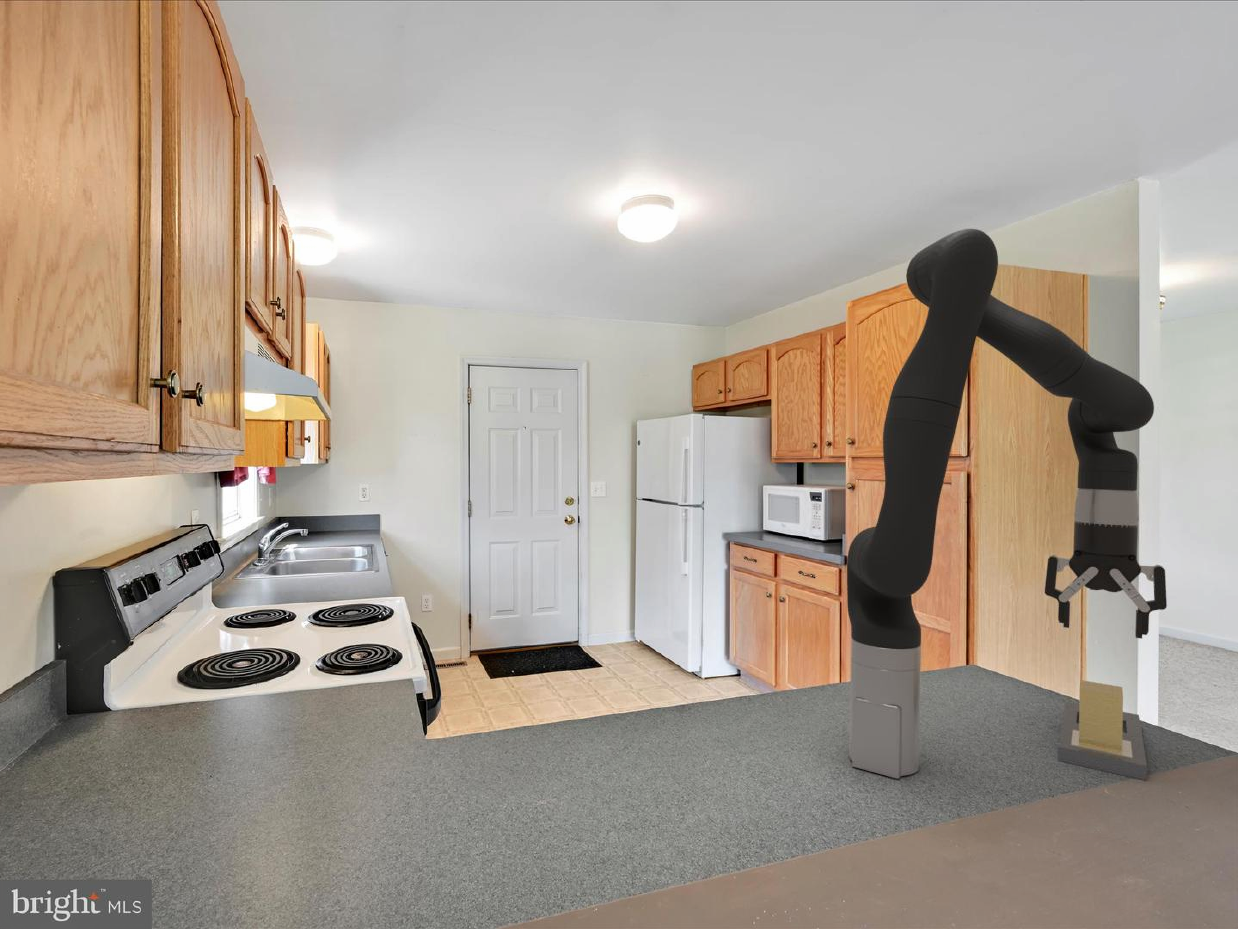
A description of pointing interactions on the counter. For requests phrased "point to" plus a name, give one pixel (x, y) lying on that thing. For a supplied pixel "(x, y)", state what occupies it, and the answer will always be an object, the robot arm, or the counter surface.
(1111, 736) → the yellow wooden block
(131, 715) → the counter surface
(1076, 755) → the grey slotted holder
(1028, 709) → the counter surface
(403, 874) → the counter surface
